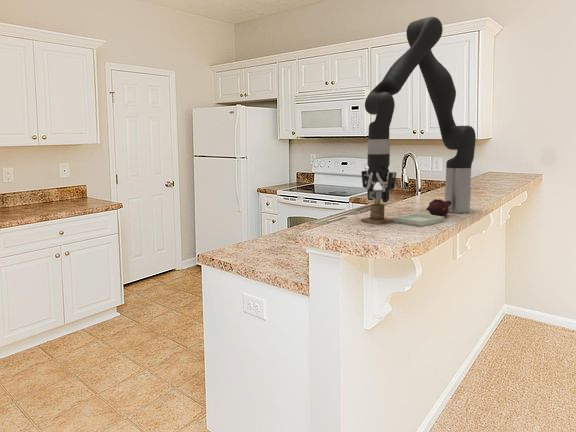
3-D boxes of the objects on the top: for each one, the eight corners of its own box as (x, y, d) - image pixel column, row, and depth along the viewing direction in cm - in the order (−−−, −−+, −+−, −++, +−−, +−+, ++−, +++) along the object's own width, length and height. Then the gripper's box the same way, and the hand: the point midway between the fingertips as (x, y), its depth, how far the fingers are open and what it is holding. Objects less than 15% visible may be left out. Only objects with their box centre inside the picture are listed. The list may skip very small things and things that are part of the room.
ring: (379, 196, 166) (379, 189, 166) (392, 197, 162) (392, 190, 161) (363, 198, 162) (363, 191, 161) (377, 200, 157) (377, 192, 157)
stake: (376, 218, 169) (376, 188, 167) (393, 221, 162) (394, 190, 161) (360, 221, 164) (361, 190, 162) (378, 224, 158) (379, 192, 156)
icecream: (438, 203, 162) (460, 202, 171) (421, 196, 167) (443, 196, 177) (432, 221, 164) (454, 220, 173) (415, 214, 169) (437, 213, 179)
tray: (416, 217, 170) (416, 212, 170) (444, 221, 161) (444, 216, 161) (392, 222, 162) (392, 217, 161) (420, 226, 153) (420, 221, 152)
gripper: (402, 152, 156) (401, 202, 159) (370, 152, 167) (369, 198, 170) (387, 153, 151) (387, 204, 154) (355, 152, 162) (355, 200, 165)
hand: (377, 200), depth 162 cm, fingers closed on ring, 6 cm apart
